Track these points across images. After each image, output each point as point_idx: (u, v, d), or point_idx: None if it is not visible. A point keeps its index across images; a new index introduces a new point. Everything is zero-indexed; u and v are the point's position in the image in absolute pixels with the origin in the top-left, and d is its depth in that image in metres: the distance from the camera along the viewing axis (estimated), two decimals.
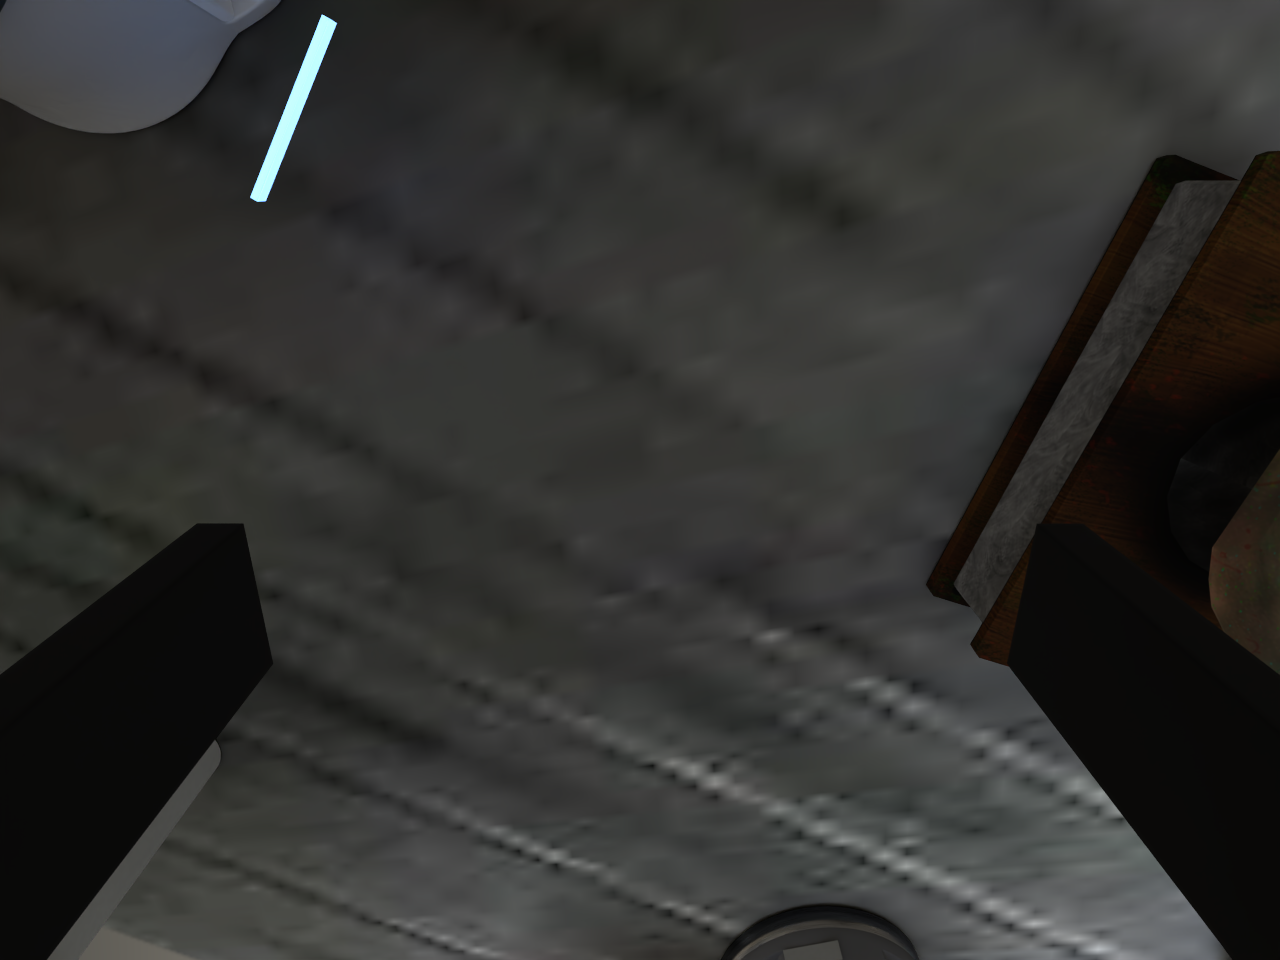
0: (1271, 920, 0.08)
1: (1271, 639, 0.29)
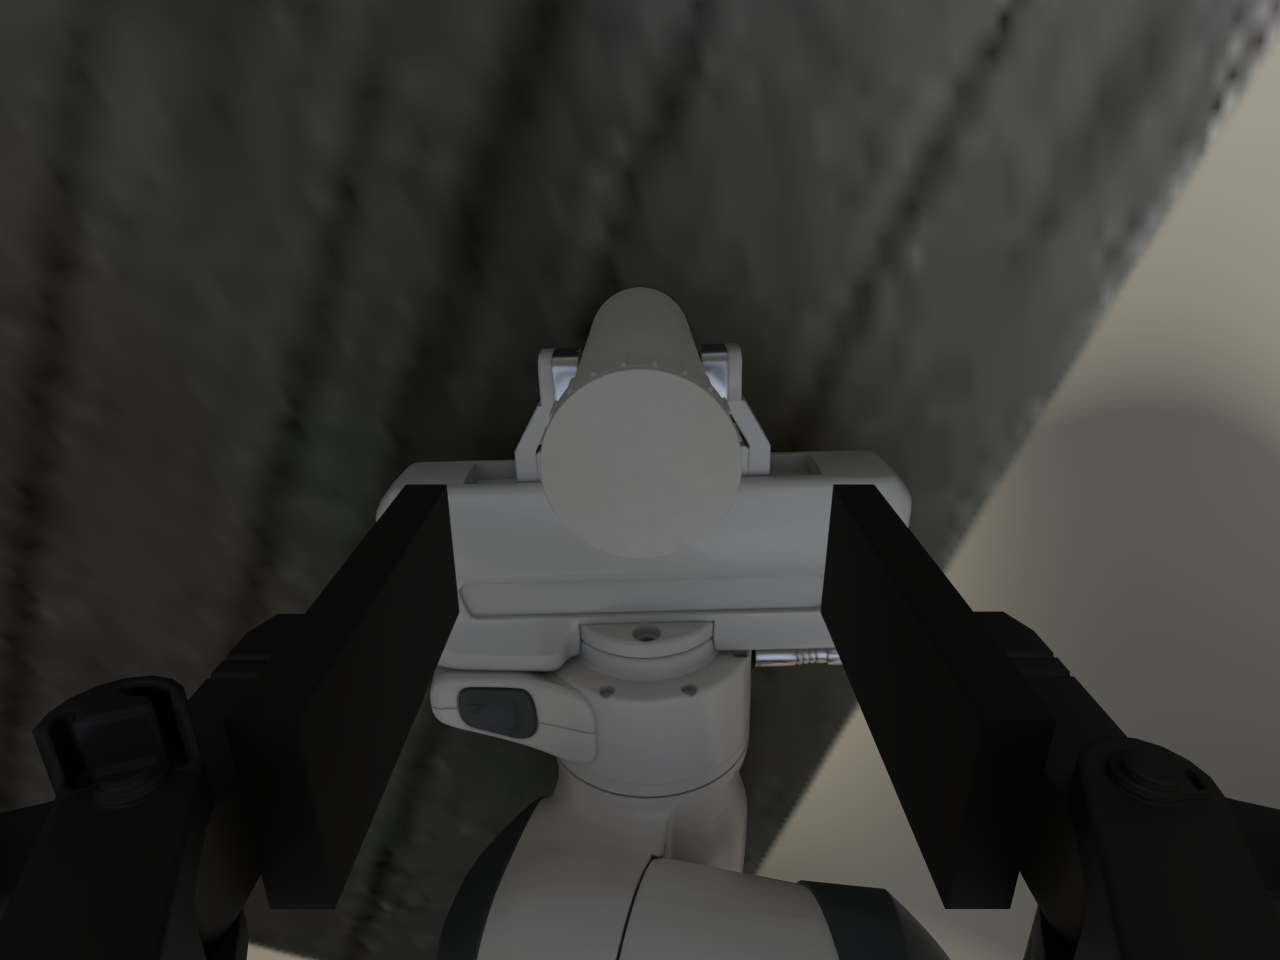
0: (927, 793, 0.09)
1: None
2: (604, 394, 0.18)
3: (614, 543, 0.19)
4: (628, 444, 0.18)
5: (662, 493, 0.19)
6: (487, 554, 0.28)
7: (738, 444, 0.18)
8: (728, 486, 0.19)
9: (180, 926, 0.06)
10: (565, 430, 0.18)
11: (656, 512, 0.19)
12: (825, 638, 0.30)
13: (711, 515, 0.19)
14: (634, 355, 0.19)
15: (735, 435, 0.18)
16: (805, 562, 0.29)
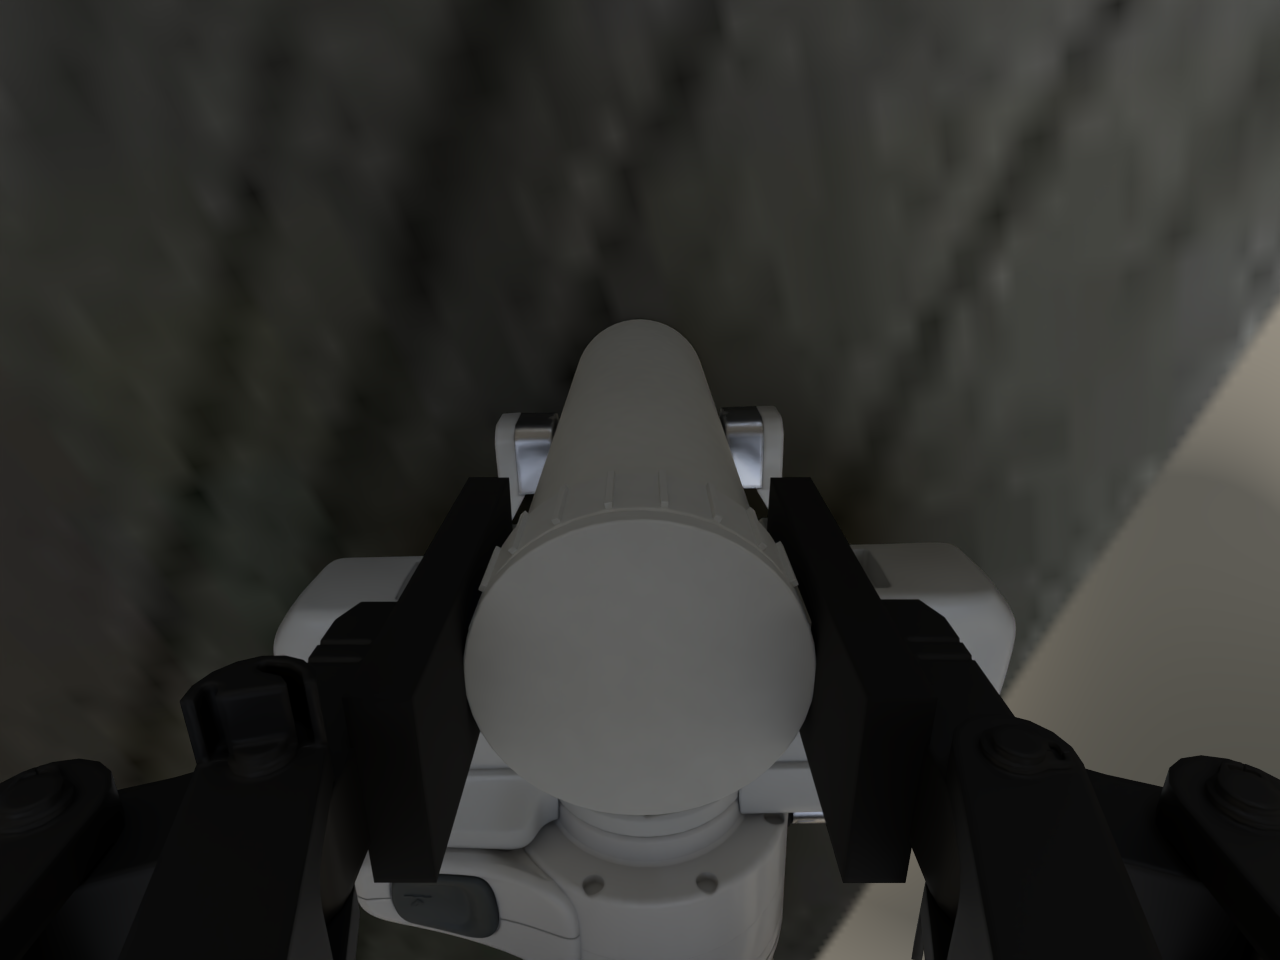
0: (831, 772, 0.10)
1: None
2: (574, 562, 0.10)
3: (595, 793, 0.11)
4: (617, 642, 0.10)
5: (677, 719, 0.11)
6: None
7: (811, 643, 0.10)
8: (791, 708, 0.11)
9: (308, 901, 0.06)
10: (506, 620, 0.10)
11: (666, 748, 0.11)
12: None
13: (760, 751, 0.11)
14: (628, 477, 0.11)
15: (806, 628, 0.10)
16: None
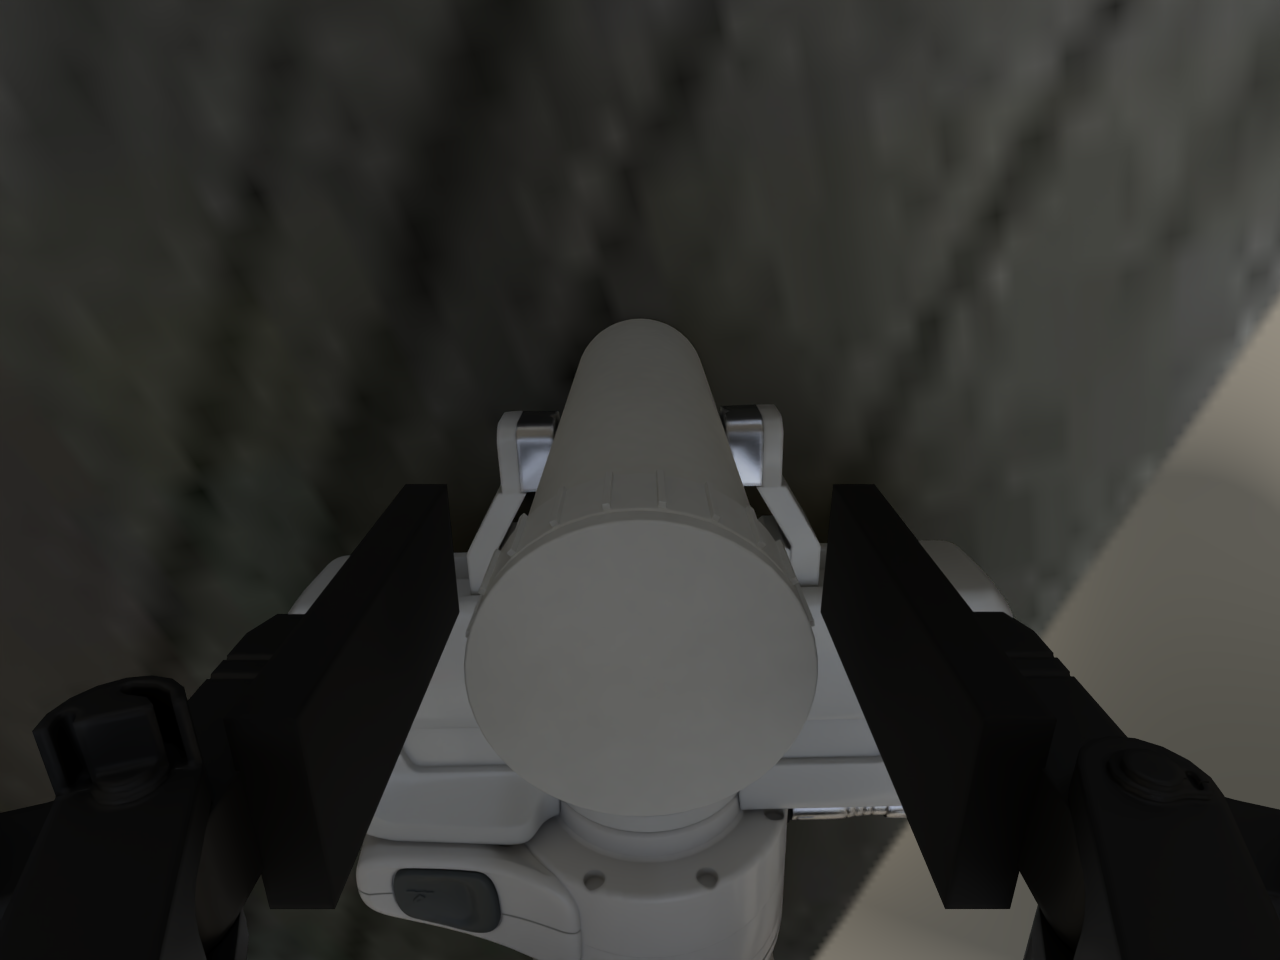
0: (927, 794, 0.09)
1: None
2: (495, 691, 0.11)
3: (754, 757, 0.11)
4: (591, 685, 0.11)
5: (698, 665, 0.10)
6: (430, 692, 0.21)
7: (658, 524, 0.10)
8: (731, 563, 0.10)
9: (180, 926, 0.06)
10: (535, 758, 0.11)
11: (728, 684, 0.11)
12: (890, 796, 0.22)
13: (774, 605, 0.10)
14: None
15: (640, 523, 0.10)
16: None
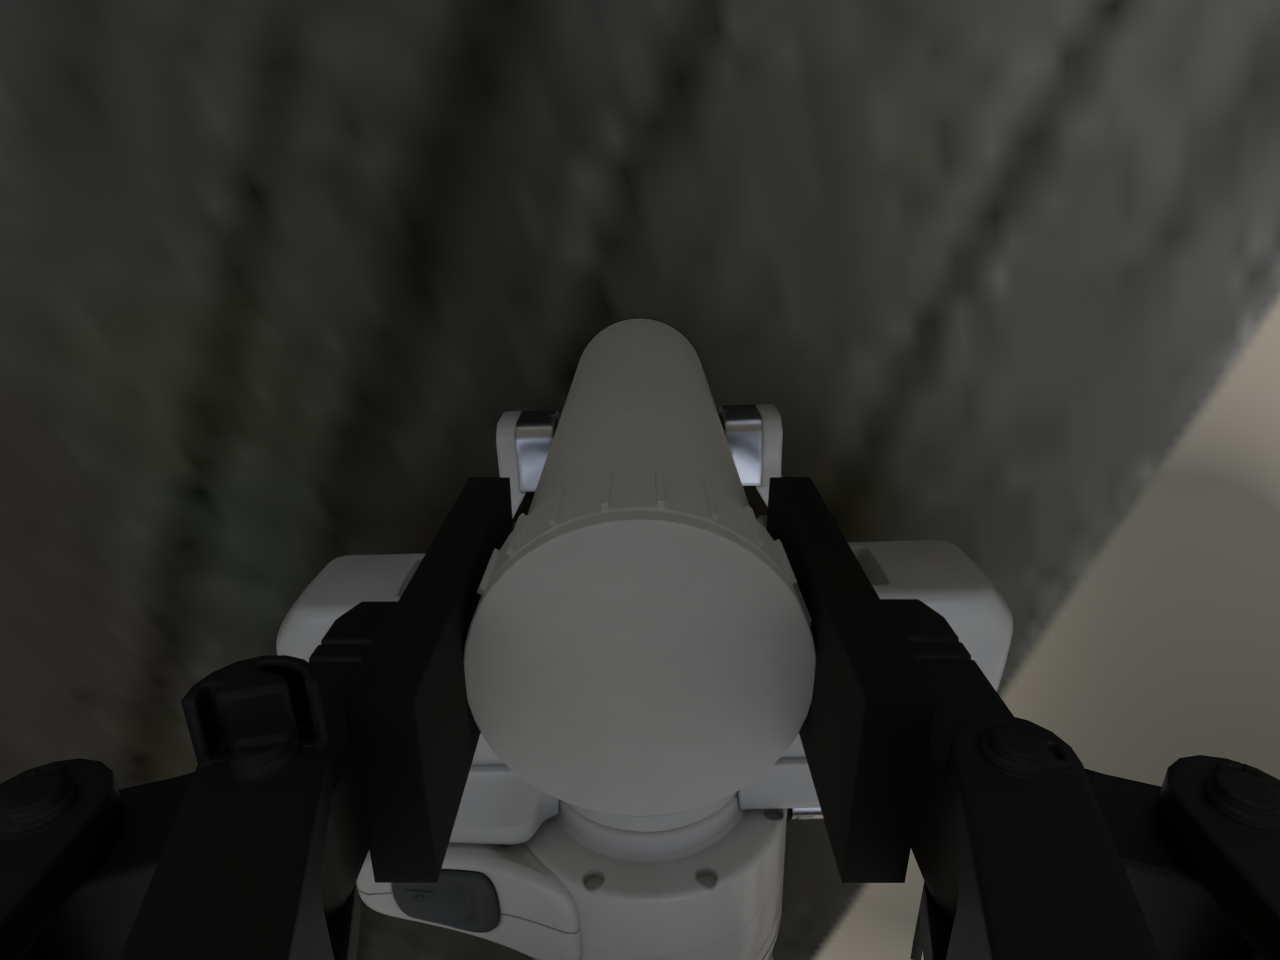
0: (830, 773, 0.10)
1: None
2: (494, 690, 0.11)
3: (753, 757, 0.11)
4: (590, 684, 0.11)
5: (697, 664, 0.10)
6: None
7: (657, 524, 0.10)
8: (730, 562, 0.10)
9: (309, 900, 0.06)
10: (533, 758, 0.11)
11: (727, 684, 0.11)
12: None
13: (773, 604, 0.10)
14: None
15: (639, 522, 0.10)
16: None
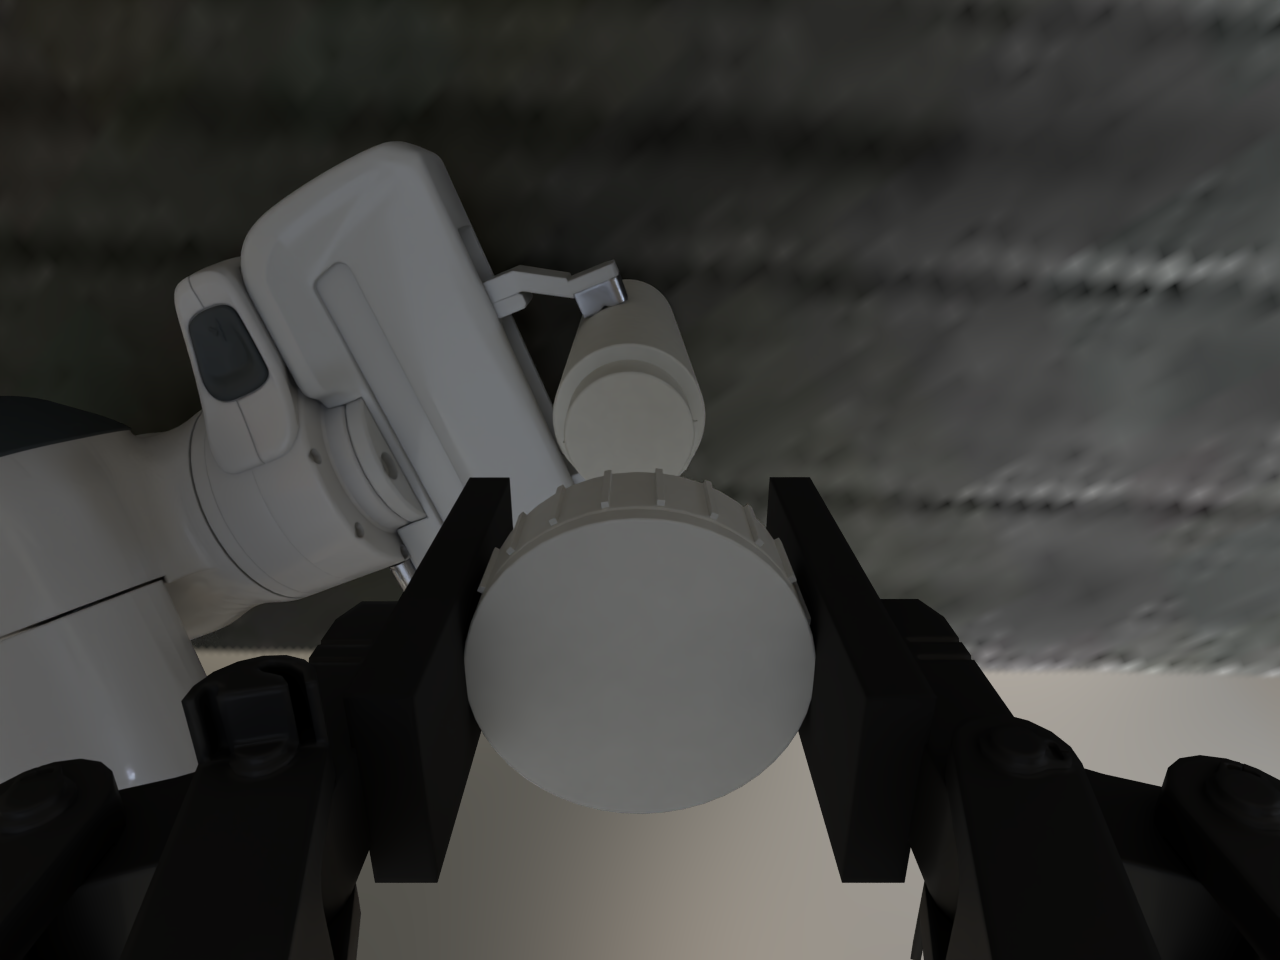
0: (830, 773, 0.10)
1: None
2: (494, 688, 0.11)
3: (753, 755, 0.11)
4: (590, 683, 0.11)
5: (696, 663, 0.10)
6: (394, 279, 0.26)
7: (656, 523, 0.10)
8: (729, 561, 0.10)
9: (309, 900, 0.06)
10: (534, 756, 0.11)
11: (726, 681, 0.11)
12: None
13: (772, 603, 0.10)
14: None
15: (639, 521, 0.10)
16: None
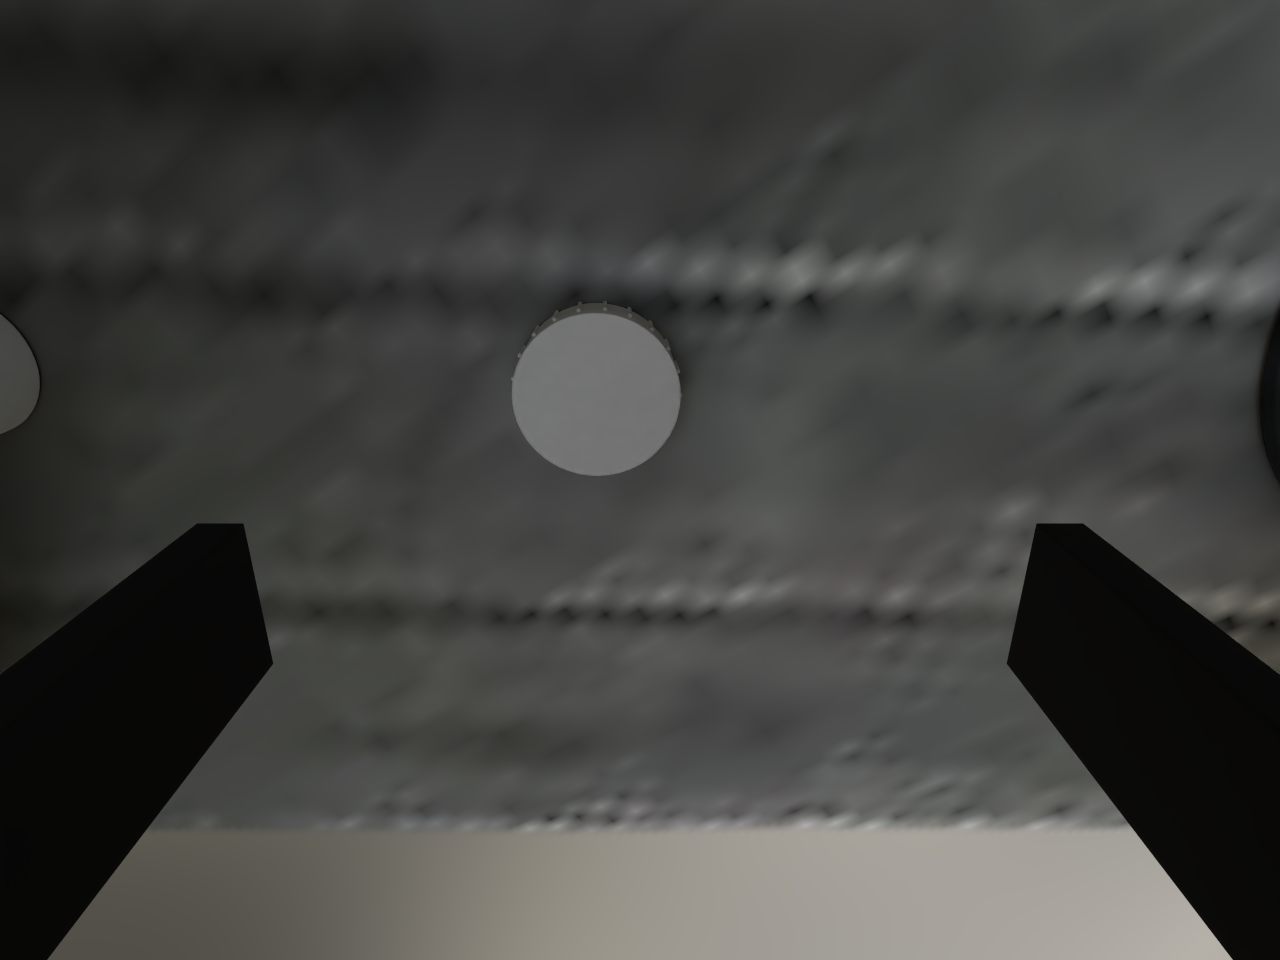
0: (1271, 920, 0.08)
1: None
2: (526, 403, 0.22)
3: (653, 440, 0.23)
4: (573, 400, 0.22)
5: (623, 388, 0.22)
6: None
7: (602, 314, 0.21)
8: (636, 334, 0.21)
9: None
10: (545, 442, 0.22)
11: (638, 399, 0.22)
12: None
13: (657, 356, 0.22)
14: None
15: (594, 314, 0.21)
16: None
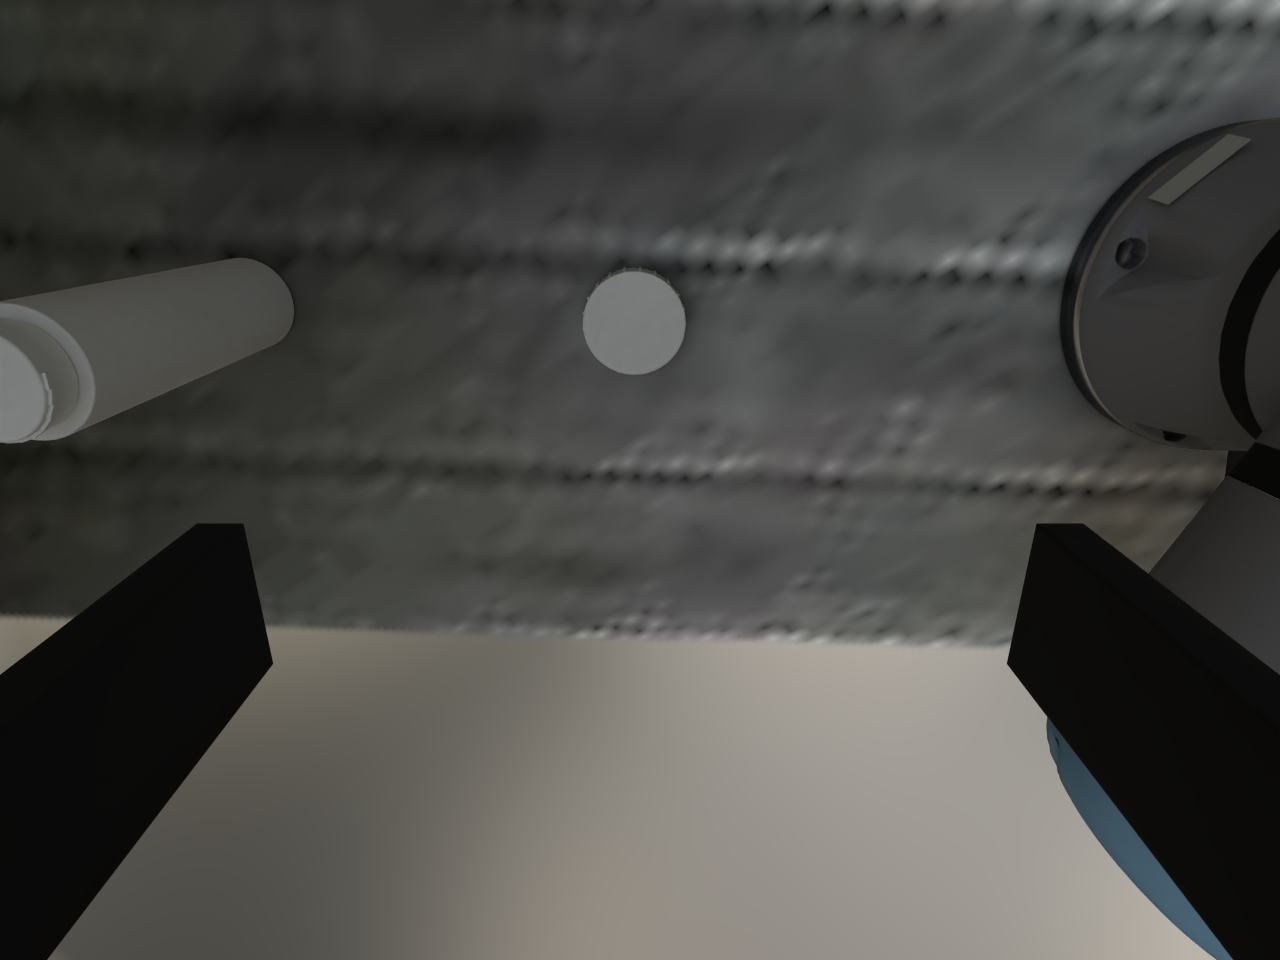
0: (1271, 919, 0.08)
1: None
2: (591, 327, 0.36)
3: (668, 351, 0.37)
4: (619, 325, 0.36)
5: (650, 318, 0.36)
6: None
7: (638, 272, 0.35)
8: (659, 284, 0.35)
9: None
10: (602, 352, 0.37)
11: (659, 325, 0.36)
12: None
13: (671, 298, 0.36)
14: None
15: (633, 272, 0.35)
16: None
